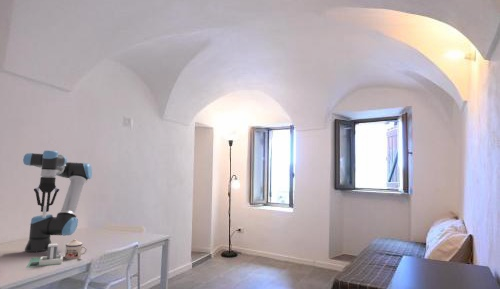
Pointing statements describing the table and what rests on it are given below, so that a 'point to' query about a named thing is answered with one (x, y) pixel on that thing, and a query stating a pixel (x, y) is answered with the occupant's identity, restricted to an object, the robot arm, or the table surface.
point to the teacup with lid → (74, 250)
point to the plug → (52, 251)
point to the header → (51, 260)
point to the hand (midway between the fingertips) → (44, 217)
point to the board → (35, 262)
